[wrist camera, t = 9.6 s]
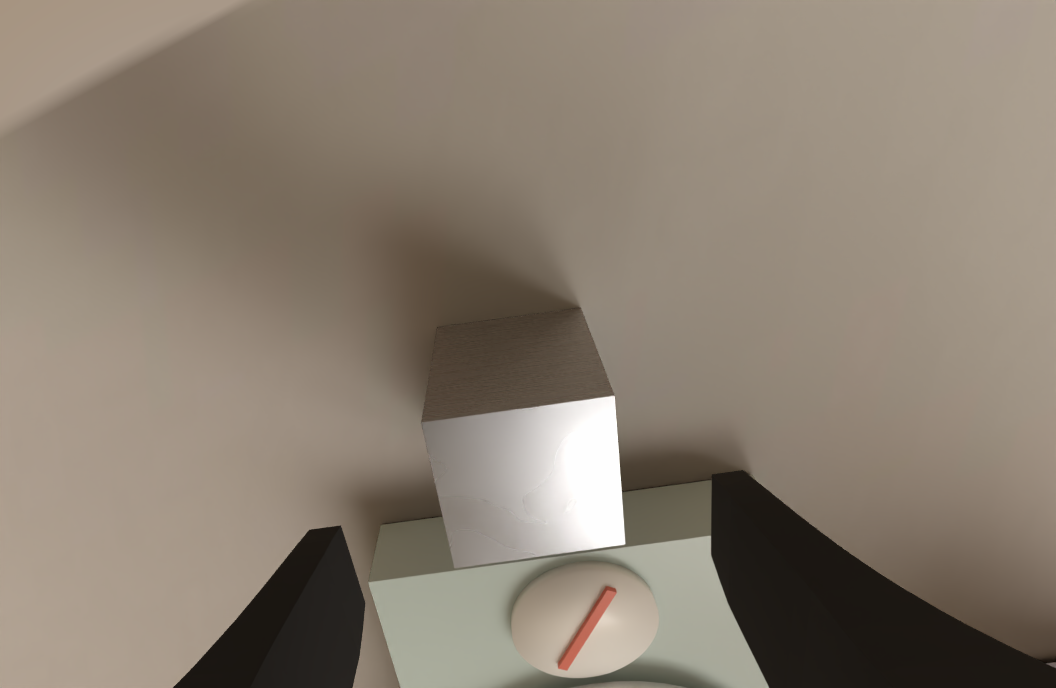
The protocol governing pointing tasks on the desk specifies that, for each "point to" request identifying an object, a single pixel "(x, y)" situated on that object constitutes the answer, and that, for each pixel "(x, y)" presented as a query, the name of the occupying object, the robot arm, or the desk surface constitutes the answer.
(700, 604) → the scale
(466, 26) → the desk surface
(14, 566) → the desk surface
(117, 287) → the desk surface
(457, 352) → the block
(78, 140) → the desk surface
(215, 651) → the robot arm
